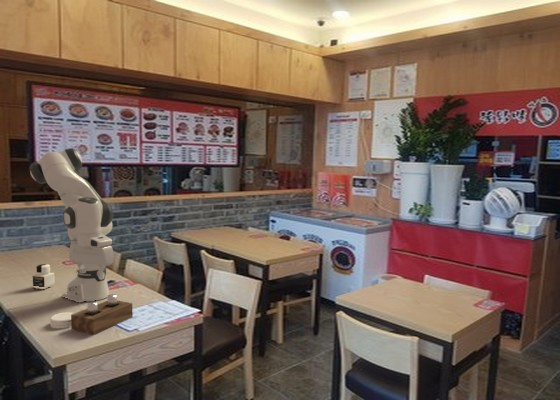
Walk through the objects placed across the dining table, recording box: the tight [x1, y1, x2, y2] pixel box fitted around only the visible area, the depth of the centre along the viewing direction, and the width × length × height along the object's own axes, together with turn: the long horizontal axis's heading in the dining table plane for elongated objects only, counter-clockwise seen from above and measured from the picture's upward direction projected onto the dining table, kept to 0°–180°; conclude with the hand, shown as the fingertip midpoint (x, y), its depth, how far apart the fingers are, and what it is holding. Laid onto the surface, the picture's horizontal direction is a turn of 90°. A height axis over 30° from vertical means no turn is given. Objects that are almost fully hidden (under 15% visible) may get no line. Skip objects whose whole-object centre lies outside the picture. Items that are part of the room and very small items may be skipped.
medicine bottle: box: [32, 263, 56, 287], centre depth 214 cm, size 7×7×12 cm
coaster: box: [49, 311, 76, 330], centre depth 167 cm, size 10×10×4 cm
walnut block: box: [71, 300, 133, 336], centre depth 168 cm, size 12×20×6 cm, turn 156°
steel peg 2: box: [106, 293, 118, 307], centre depth 172 cm, size 4×4×5 cm
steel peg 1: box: [86, 301, 99, 316], centre depth 163 cm, size 4×4×5 cm
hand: (91, 274), depth 162 cm, fingers open, 8 cm apart
